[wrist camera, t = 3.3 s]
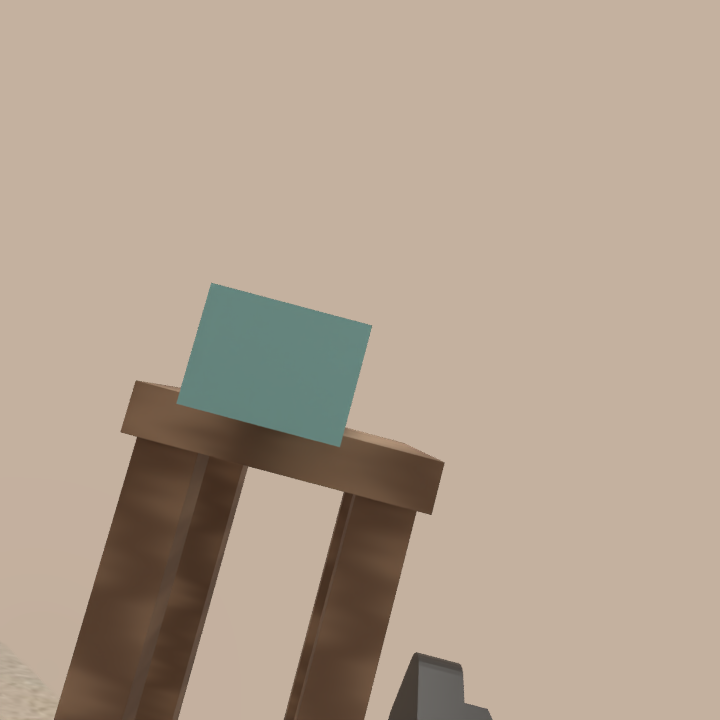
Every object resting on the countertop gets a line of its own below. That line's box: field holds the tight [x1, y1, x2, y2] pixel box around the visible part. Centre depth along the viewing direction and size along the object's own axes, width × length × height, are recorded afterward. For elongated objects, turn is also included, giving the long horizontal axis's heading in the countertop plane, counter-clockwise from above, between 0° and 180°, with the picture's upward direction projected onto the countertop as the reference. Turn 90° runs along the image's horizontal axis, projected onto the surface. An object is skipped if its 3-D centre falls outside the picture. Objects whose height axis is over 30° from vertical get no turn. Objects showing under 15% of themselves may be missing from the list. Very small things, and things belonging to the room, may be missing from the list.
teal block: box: [176, 283, 372, 447], centre depth 27 cm, size 4×24×3 cm, turn 1°
